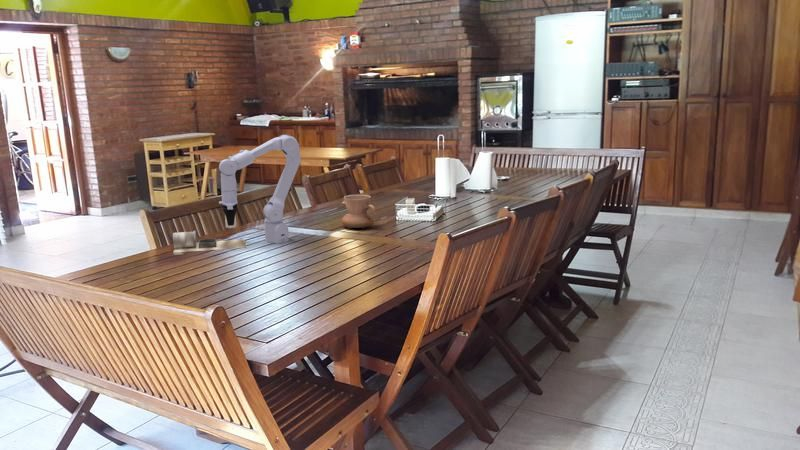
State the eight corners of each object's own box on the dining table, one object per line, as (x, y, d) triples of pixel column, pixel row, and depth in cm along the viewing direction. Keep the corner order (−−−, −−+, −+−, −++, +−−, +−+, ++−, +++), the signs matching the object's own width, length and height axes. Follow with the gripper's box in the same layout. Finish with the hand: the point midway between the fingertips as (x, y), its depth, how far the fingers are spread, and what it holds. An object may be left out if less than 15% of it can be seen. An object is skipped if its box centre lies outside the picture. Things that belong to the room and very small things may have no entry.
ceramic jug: (333, 227, 286) (332, 196, 283) (353, 222, 298) (353, 192, 295) (364, 233, 276) (363, 201, 273) (384, 227, 288) (384, 196, 285)
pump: (238, 226, 252) (237, 208, 251) (229, 228, 249) (228, 210, 248) (232, 225, 255) (231, 207, 253) (223, 227, 252) (222, 209, 250)
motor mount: (244, 241, 262) (243, 224, 260) (246, 250, 248) (245, 231, 247) (175, 246, 254) (174, 228, 253) (173, 255, 241) (171, 236, 240)
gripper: (218, 187, 254) (220, 221, 257) (218, 193, 241) (220, 228, 244) (236, 187, 256) (238, 220, 259) (237, 192, 243) (239, 227, 246)
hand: (230, 224), depth 252 cm, fingers closed on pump, 4 cm apart
